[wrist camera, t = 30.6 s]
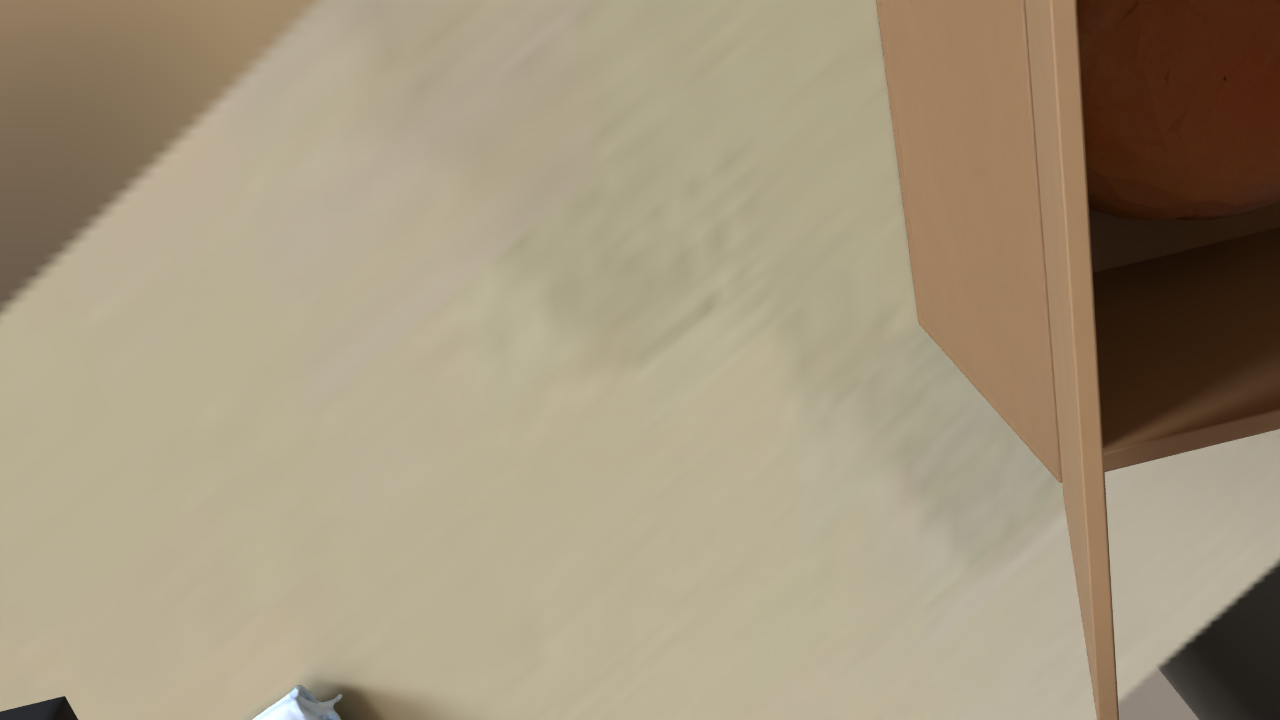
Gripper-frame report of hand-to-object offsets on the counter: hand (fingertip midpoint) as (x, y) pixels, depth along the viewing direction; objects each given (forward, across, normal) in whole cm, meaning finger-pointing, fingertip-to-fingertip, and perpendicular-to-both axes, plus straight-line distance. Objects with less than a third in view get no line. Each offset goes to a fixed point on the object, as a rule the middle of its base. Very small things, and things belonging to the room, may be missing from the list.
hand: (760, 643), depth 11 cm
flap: (+7, +7, 0) cm, 10 cm away
